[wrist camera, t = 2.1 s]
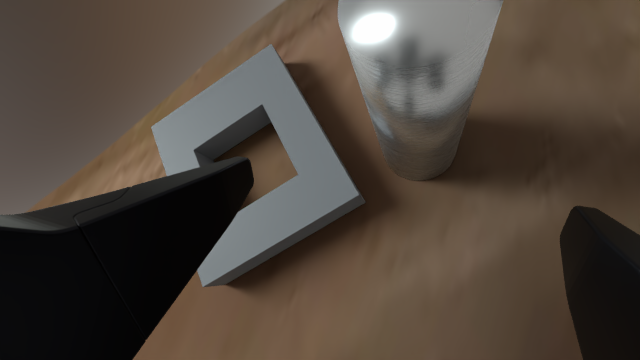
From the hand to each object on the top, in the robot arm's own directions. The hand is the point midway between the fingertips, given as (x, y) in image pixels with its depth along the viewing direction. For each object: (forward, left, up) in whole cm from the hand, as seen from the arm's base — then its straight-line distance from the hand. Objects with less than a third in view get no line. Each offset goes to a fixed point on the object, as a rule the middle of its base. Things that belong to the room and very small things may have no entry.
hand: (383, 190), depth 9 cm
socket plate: (+10, +7, -12) cm, 17 cm away
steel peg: (+5, -4, -12) cm, 13 cm away
